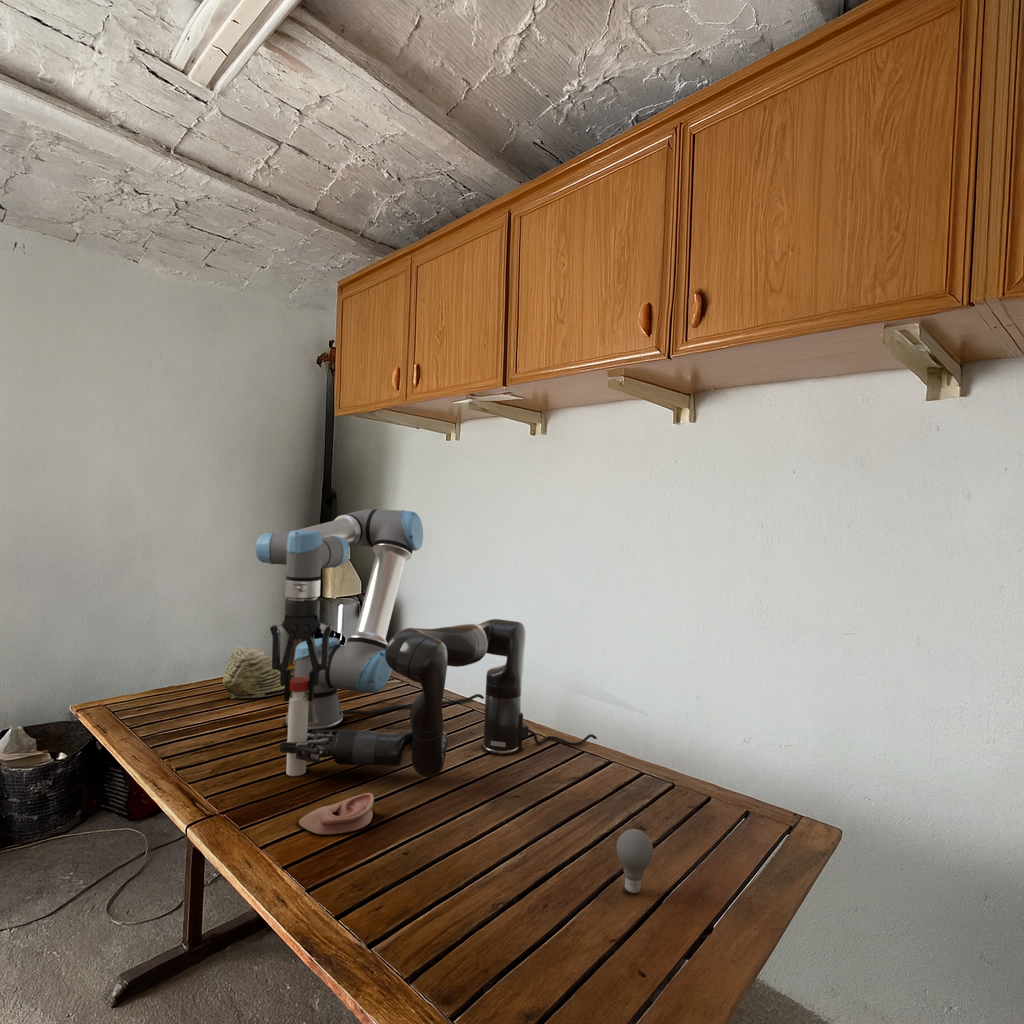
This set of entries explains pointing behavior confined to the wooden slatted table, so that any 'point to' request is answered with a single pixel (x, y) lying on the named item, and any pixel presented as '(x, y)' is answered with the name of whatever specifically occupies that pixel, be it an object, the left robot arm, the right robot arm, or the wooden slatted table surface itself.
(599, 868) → the wooden slatted table surface
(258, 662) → the fossil
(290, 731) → the white tube
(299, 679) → the lid
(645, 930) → the wooden slatted table surface
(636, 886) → the light bulb
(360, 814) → the anatomical model
